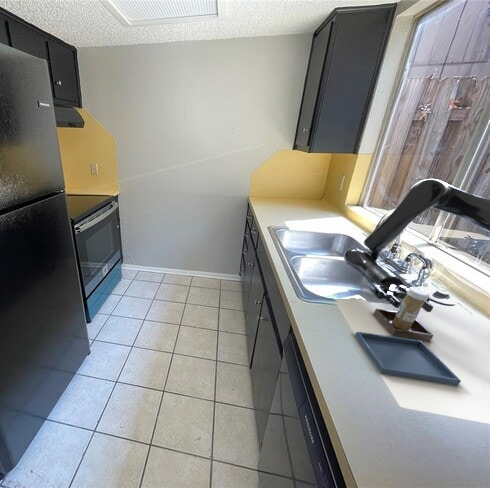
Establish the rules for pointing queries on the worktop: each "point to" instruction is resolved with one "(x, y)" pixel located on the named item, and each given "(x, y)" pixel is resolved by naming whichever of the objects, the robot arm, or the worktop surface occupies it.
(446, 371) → the tray
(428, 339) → the bin
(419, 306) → the sprinkles bottle
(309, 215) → the worktop surface
